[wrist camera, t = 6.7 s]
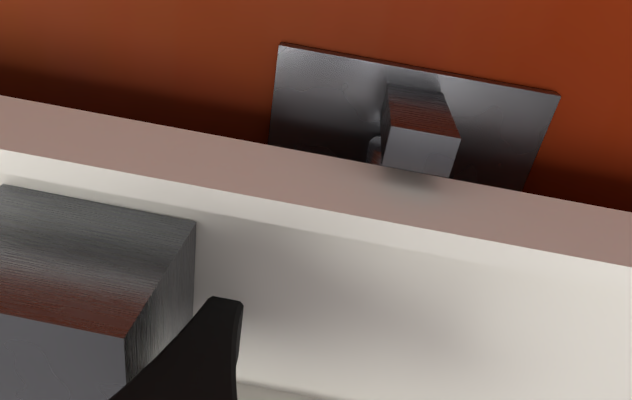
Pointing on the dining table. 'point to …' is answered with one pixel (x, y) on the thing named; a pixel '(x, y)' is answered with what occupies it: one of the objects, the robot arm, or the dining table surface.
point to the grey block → (86, 293)
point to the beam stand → (408, 117)
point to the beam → (360, 262)
